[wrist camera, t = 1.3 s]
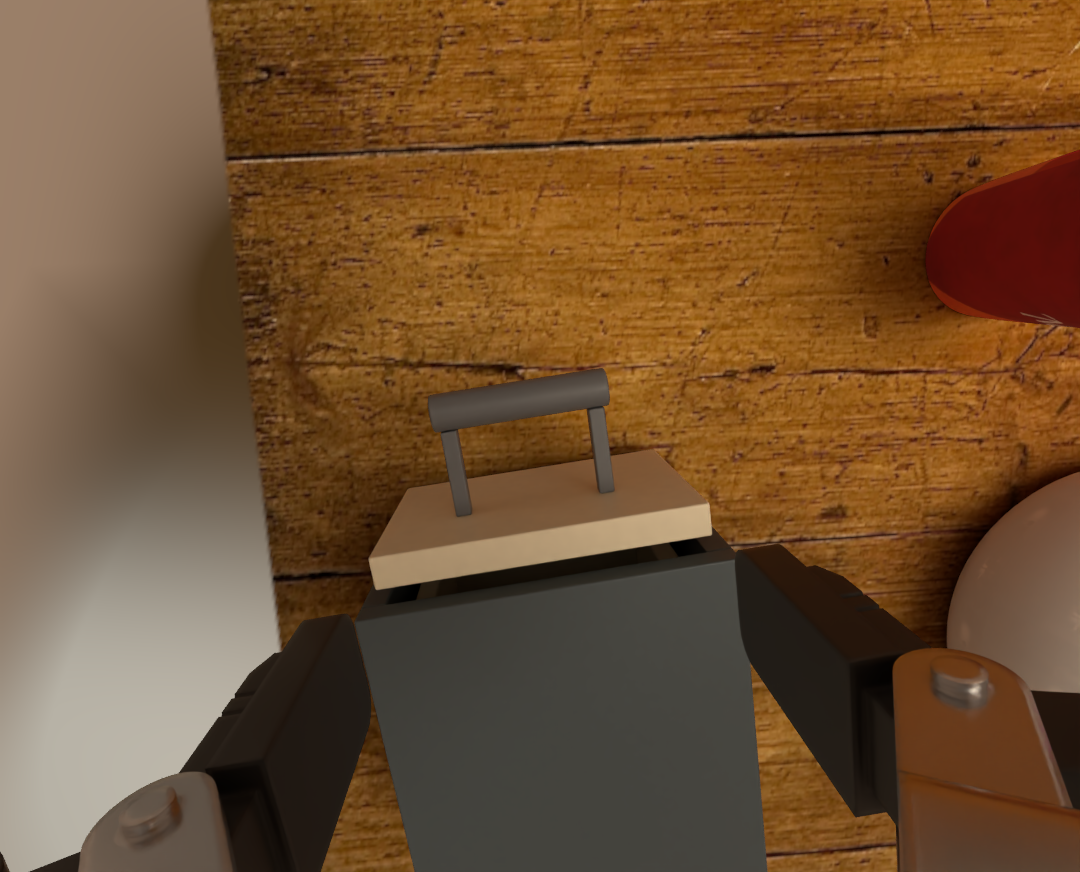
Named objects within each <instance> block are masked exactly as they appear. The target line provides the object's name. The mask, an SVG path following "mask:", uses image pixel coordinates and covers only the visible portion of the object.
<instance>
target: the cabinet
mask: <svg viewBox="0 0 1080 872" xmlns="http://www.w3.org/2000/svg"><path fill="white" fill-rule="evenodd" d="M711 527H712V526H711ZM669 544H670V545H671V547H672V548H673V550H674V551H675V553H676V554H677V555H678V557H675V558H669V559H663V560H657V561H651V562H645V563H639V564H633V565H627V566H620V567H614V568H608V569H602V570H596V571H590V572H584V573H578V574H572V575H566V576H559V577H553V578H547V579H541V580H535V581H529V582H523V583H517V584H511V585H505V586H498V587H492V588H486V589H480V590H474V591H468V592H462V593H456V594H450V595H444V596H437V597H431V598H425V599H419V600H416V598H417V595H418V592H419V589H420V586H421V583H417V584H411V585H405V586H399V587H393V588H386V589H380V590H376V589H375V586H374V584H373V586H372V588H371V590H370V592H369V594H368V596H367V598H366V600H365V602H364V604H363V606H362V609H361V610H360V612H359V614H358V616H357V618H356V620H355V622H354V623H355V627H356V632H357V636H358V640H359V644H360V648H361V652H362V656H363V660H364V664H365V669H366V673H367V677H368V681H369V685H370V689H371V693H372V697H373V702H374V706H375V710H376V714H377V718H378V722H379V726H380V730H381V734H382V739H383V743H384V747H385V751H386V755H387V759H388V763H389V767H390V772H391V776H392V780H393V784H394V788H395V792H396V796H397V800H398V805H399V809H400V813H401V817H402V821H403V825H404V829H405V833H406V837H407V842H408V846H409V850H410V854H411V858H412V862H413V866H414V870H415V872H767V861H766V849H765V837H764V825H763V813H762V801H761V789H760V777H759V765H758V752H757V740H756V728H755V716H754V704H753V692H752V680H751V668H750V661H749V659H748V656H747V654H746V651H745V648H744V645H743V641H742V637H741V632H740V622H739V610H738V598H737V587H736V575H735V554H736V552H735V551H734V550H733V549H732V548H731V547H730V546H729V544H728V543H727V542H726V541H725V540H724V539H723V538H722V537H721V536H720V535H719V534H718V533H717V532H716V531H715V529H714V528H713V527H712V535H711V536H705V537H699V538H692V539H686V540H680V541H674V542H669Z"/></svg>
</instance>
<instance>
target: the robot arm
mask: <svg viewBox="0 0 1080 872" xmlns="http://www.w3.org/2000/svg"><path fill="white" fill-rule="evenodd" d="M735 575H736V587H737V598H738V610H739V622H740V632H741V637H742V641H743V645H744V648H745V651H746V654H747V656H748V659H749V661H750V663H751V664H752V666H753V667H754V669H755V670H756V672H757V673H758V675H759V676H760V678H761V679H762V681H763V682H764V684H765V685H766V686H767V688H768V689H769V691H770V692H771V694H772V695H773V697H774V698H775V700H776V701H777V703H778V704H779V706H780V707H781V708H782V710H783V711H784V713H785V714H786V716H787V717H788V719H789V720H790V722H791V723H792V725H793V726H794V728H795V729H796V730H797V732H798V733H799V735H800V736H801V738H802V739H803V741H804V742H805V744H806V745H807V747H808V748H809V750H810V751H811V753H812V754H813V755H814V757H815V758H816V760H817V761H818V763H819V764H820V766H821V767H822V769H823V770H824V772H825V773H826V775H827V776H828V777H829V779H830V780H831V782H832V783H833V785H834V786H835V788H836V789H837V791H838V792H839V794H840V795H841V797H842V798H843V799H844V801H845V802H846V804H847V805H848V807H849V808H850V810H851V811H852V813H853V814H854V816H855V817H860V816H866V815H872V814H877V813H883V812H887V813H888V815H889V816H890V817H891V819H892V820H893V821H894V823H895V824H896V849H897V872H1080V693H1069V692H1049V691H1035V690H1030V689H1029V687H1028V685H1027V684H1026V683H1025V681H1024V680H1023V679H1022V678H1021V677H1019V676H1018V675H1017V674H1016V673H1015V672H1013V671H1012V670H1010V669H1009V668H1007V667H1005V666H1004V665H1002V664H1000V663H998V662H996V661H993V660H991V659H989V658H986V657H983V656H980V655H977V654H974V653H970V652H966V651H961V650H955V649H946V648H932V647H930V646H929V645H928V644H927V643H925V642H924V641H923V640H922V639H920V638H919V637H918V636H917V635H915V634H914V633H913V632H912V631H910V630H909V629H908V628H907V627H905V626H904V625H903V624H902V623H900V622H899V621H898V620H897V619H895V618H894V617H893V616H892V615H890V614H889V613H888V612H887V611H885V610H884V609H883V608H882V609H880V608H879V605H878V604H877V603H875V602H874V601H873V600H872V599H870V598H869V597H868V596H867V595H863V593H862V591H861V590H859V589H858V588H857V587H856V586H854V585H853V584H852V583H851V582H849V581H848V580H847V579H846V578H844V577H843V576H841V575H838V574H836V573H833V572H831V571H828V570H826V569H823V568H821V567H818V566H816V565H815V566H809V567H806V566H805V565H804V564H803V563H801V562H800V561H799V560H798V559H797V558H796V557H795V556H793V555H792V554H791V553H790V552H789V551H788V550H787V549H785V548H784V547H783V546H782V545H780V544H774V545H768V546H761V547H755V548H749V549H743V550H738V551H737V552H736V554H735ZM370 717H371V699H370V691H369V686H368V682H367V678H366V674H365V670H364V666H363V662H362V657H361V653H360V649H359V645H358V641H357V637H356V633H355V629H354V625H353V622H352V620H351V618H350V617H349V615H347V614H340V615H334V616H328V617H322V618H316V619H309V620H304V621H303V622H302V623H301V624H300V625H299V627H298V628H297V630H296V631H295V633H294V634H293V636H292V637H291V639H290V640H289V642H288V644H287V645H286V647H285V648H284V650H283V651H282V652H280V653H274V654H273V655H272V656H271V657H269V658H268V659H267V660H266V661H264V662H263V663H262V664H261V665H259V666H258V667H257V668H256V669H254V670H253V671H252V672H251V673H250V674H249V675H248V676H247V678H246V680H245V681H244V682H243V683H242V685H241V686H240V688H239V689H238V691H237V692H236V693H235V698H234V699H231V701H230V702H229V703H228V705H227V706H226V707H225V709H224V710H223V712H222V717H218V719H217V720H216V722H215V723H214V725H213V726H212V727H211V729H210V730H209V731H208V733H207V734H206V736H205V737H204V738H203V740H202V741H201V743H200V744H199V745H198V747H197V748H196V750H195V751H194V752H193V754H192V755H191V757H190V758H189V760H188V761H187V762H186V764H185V765H184V767H183V768H182V769H181V771H180V772H179V774H175V775H171V776H168V777H165V778H162V779H160V780H157V781H155V782H153V783H150V784H149V785H146V786H145V787H143V788H141V789H139V790H137V791H136V792H134V793H132V794H131V795H129V796H128V797H126V798H125V799H124V800H122V801H121V802H119V803H118V804H117V805H116V806H114V807H113V808H112V809H111V810H109V811H108V812H107V813H106V814H105V815H104V816H103V817H102V818H101V819H100V820H99V821H98V823H97V824H96V825H95V826H94V827H93V828H92V830H91V831H90V833H89V834H88V836H87V837H86V839H85V841H84V843H83V845H82V849H81V852H79V853H76V854H73V855H71V856H68V857H66V858H63V859H61V860H58V861H56V862H53V863H51V864H48V865H45V866H43V867H40V868H38V869H35V870H33V871H30V872H321V869H322V866H323V863H324V860H325V857H326V854H327V851H328V848H329V845H330V842H331V839H332V836H333V833H334V830H335V827H336V824H337V821H338V818H339V815H340V812H341V809H342V806H343V803H344V800H345V797H346V794H347V791H348V788H349V785H350V782H351V779H352V776H353V773H354V770H355V767H356V764H357V761H358V758H359V755H360V752H361V749H362V746H363V743H364V740H365V737H366V734H367V731H368V728H369V724H370ZM0 872H9V869H8V867H7V864H6V862H5V860H4V858H3V855H2V854H1V852H0Z"/></svg>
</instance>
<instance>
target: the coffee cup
mask: <svg viewBox="0 0 1080 872" xmlns="http://www.w3.org/2000/svg"><path fill="white" fill-rule="evenodd" d="M926 271H927V276H928V280H929V283H930V285H931V287H932V289H933V291H934V293H935V294H936V296H937V297H938V298H939V299H940V300H941V301H942V302H943V303H944V304H945V305H946V306H948V307H949V308H951V309H952V310H954V311H957V312H959V313H962V314H965V315H969V316H975V317H981V318H989V319H997V320H1005V321H1015V322H1025V323H1035V324H1045V325H1055V326H1066V327H1076V328H1080V150H1077V151H1074V152H1071V153H1069V154H1066V155H1063V156H1060V157H1057V158H1054V159H1051V160H1048V161H1046V162H1043V163H1040V164H1037V165H1034V166H1031V167H1028V168H1026V169H1023V170H1020V171H1017V172H1014V173H1011V174H1009V175H1006V176H1003V177H1001V178H998V179H995V180H992V181H990V182H987V183H985V184H982V185H980V186H978V187H975V188H973V189H971V190H969V191H967V192H966V193H964V194H962V195H961V196H959V197H958V198H957V199H955V200H954V201H953V202H952V203H951V204H950V205H949V206H948V207H947V208H946V209H945V210H944V211H943V213H942V214H941V215H940V217H939V218H938V220H937V221H936V223H935V225H934V227H933V229H932V231H931V234H930V237H929V240H928V244H927V249H926Z"/></svg>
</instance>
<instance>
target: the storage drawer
mask: <svg viewBox="0 0 1080 872" xmlns="http://www.w3.org/2000/svg"><path fill="white" fill-rule="evenodd" d="M609 400H610V396H609V386H608V381H607V376H606V373H605V370H604V369H603V368H598V369H592V370H585V371H579V372H573V373H566V374H560V375H554V376H547V377H541V378H535V379H528V380H522V381H516V382H509V383H503V384H497V385H490V386H484V387H478V388H471V389H465V390H459V391H452V392H446V393H440V394H433V395H430V396H429V397H428V409H429V416H430V421H431V424H432V427H433V430H434V431H435V432H441V440H442V445H443V450H444V455H445V460H446V465H447V471H448V476H449V481H450V482H445V483H439V484H433V485H427V486H420V487H414V488H409V489H407V491H406V493H405V495H404V496H403V498H402V500H401V502H400V504H399V505H398V507H397V509H396V511H395V512H394V514H393V516H392V518H391V520H390V521H389V523H388V525H387V527H386V528H385V530H384V532H383V534H382V536H381V537H380V539H379V541H378V543H377V544H376V546H375V548H374V550H373V551H372V553H371V555H370V557H369V564H370V568H371V573H372V577H373V581H374V586H375V589H376V590H380V589H386V588H393V587H399V586H405V585H411V584H417V583H421V586H420V589H419V592H418V595H417V598H416V600H419V599H425V598H431V597H437V596H444V595H450V594H456V593H462V592H468V591H474V590H480V589H486V588H492V587H498V586H505V585H511V584H517V583H523V582H529V581H535V580H541V579H547V578H553V577H559V576H566V575H572V574H578V573H584V572H590V571H596V570H602V569H608V568H614V567H620V566H627V565H633V564H639V563H645V562H651V561H657V560H663V559H669V558H675V557H678V555H677V554H676V553H675V551H674V550H673V548H672V547H671V545H670V544H669V542H674V541H680V540H686V539H692V538H699V537H705V536H711V535H712V527H711V517H710V506H709V503H708V502H707V501H706V500H705V499H704V498H703V497H702V496H701V495H700V494H699V493H698V492H697V491H696V490H695V489H694V488H693V487H692V486H691V485H690V484H689V483H688V482H687V481H685V480H684V479H683V478H682V477H681V476H680V475H679V474H678V473H677V472H676V471H675V470H674V469H673V468H672V467H671V466H670V465H669V464H668V463H667V462H666V461H665V460H664V459H663V458H662V457H661V456H660V455H659V454H658V453H657V452H656V451H655V450H653V449H651V450H645V451H639V452H632V453H626V454H620V455H614V456H610V449H609V441H608V433H607V426H606V418H605V410H604V407H603V406H607V405H609ZM582 409H587V415H588V422H589V430H590V437H591V444H592V452H593V459H589V460H583V461H576V462H570V463H564V464H558V465H551V466H545V467H539V468H533V469H526V470H520V471H514V472H508V473H502V474H495V475H489V476H483V477H477V478H470V479H467V476H466V471H465V465H464V460H463V455H462V449H461V444H460V439H459V433H458V429H462V428H468V427H475V426H481V425H487V424H493V423H500V422H506V421H512V420H519V419H525V418H531V417H538V416H544V415H550V414H556V413H563V412H569V411H575V410H582Z"/></svg>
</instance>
